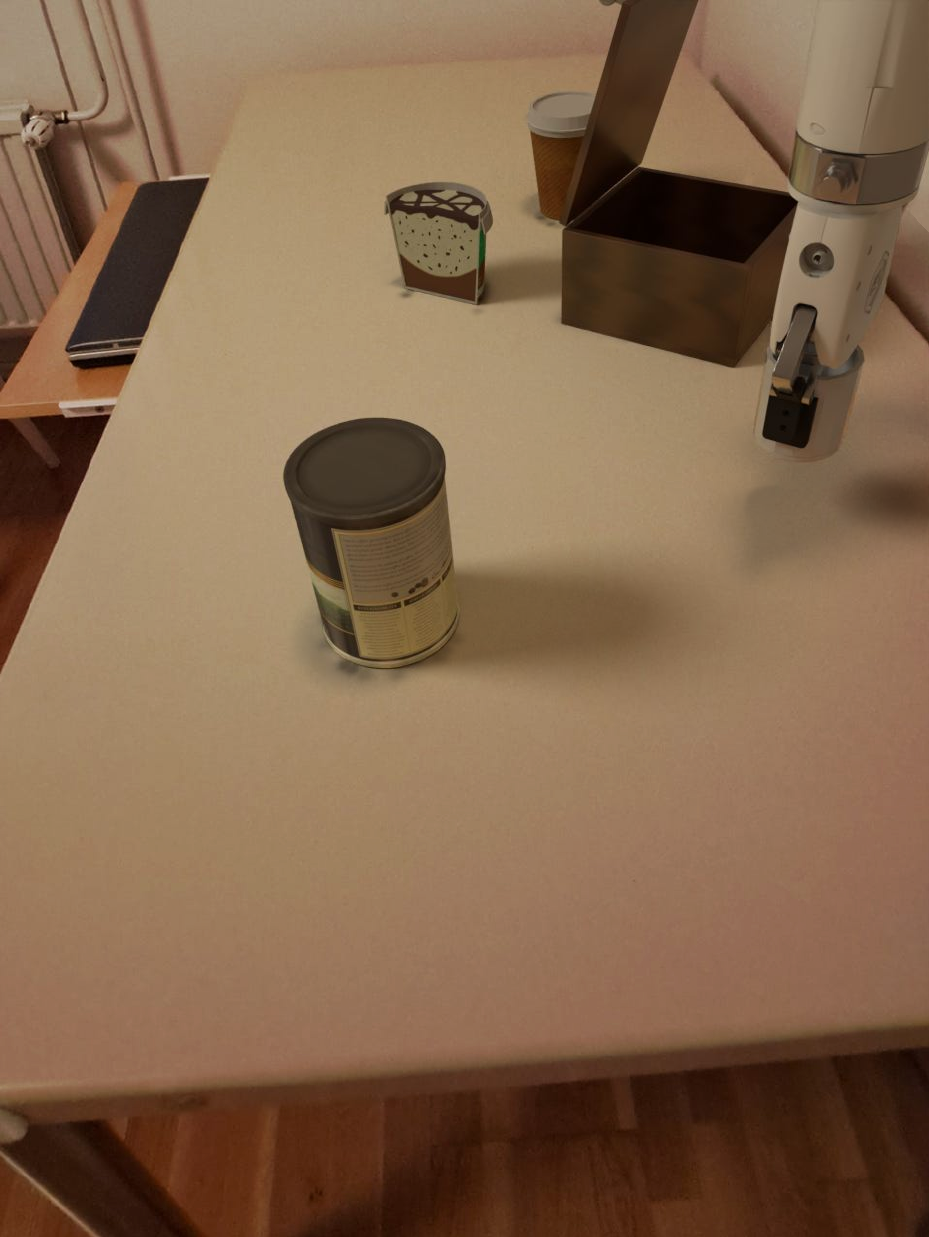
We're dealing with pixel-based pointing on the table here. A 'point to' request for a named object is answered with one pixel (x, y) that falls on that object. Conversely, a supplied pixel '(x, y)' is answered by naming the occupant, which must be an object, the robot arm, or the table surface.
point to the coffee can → (376, 538)
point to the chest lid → (628, 96)
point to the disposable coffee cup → (557, 143)
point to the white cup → (830, 412)
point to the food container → (441, 238)
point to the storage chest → (677, 263)
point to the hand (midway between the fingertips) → (802, 412)
